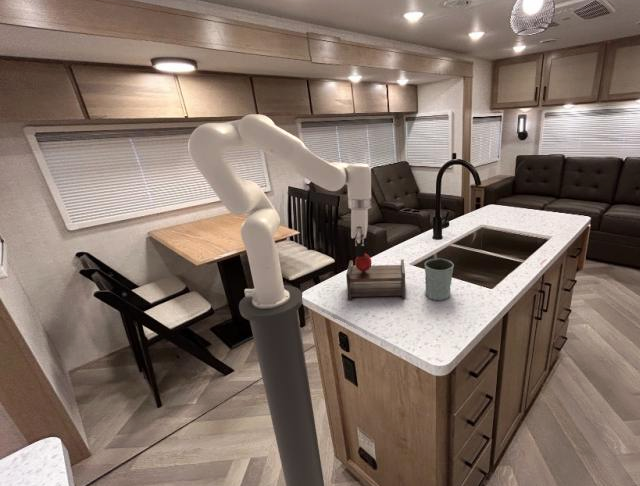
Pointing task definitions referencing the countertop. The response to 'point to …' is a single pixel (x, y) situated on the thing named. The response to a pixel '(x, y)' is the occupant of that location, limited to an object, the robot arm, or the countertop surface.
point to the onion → (363, 263)
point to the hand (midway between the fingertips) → (361, 250)
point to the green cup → (438, 278)
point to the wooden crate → (376, 281)
